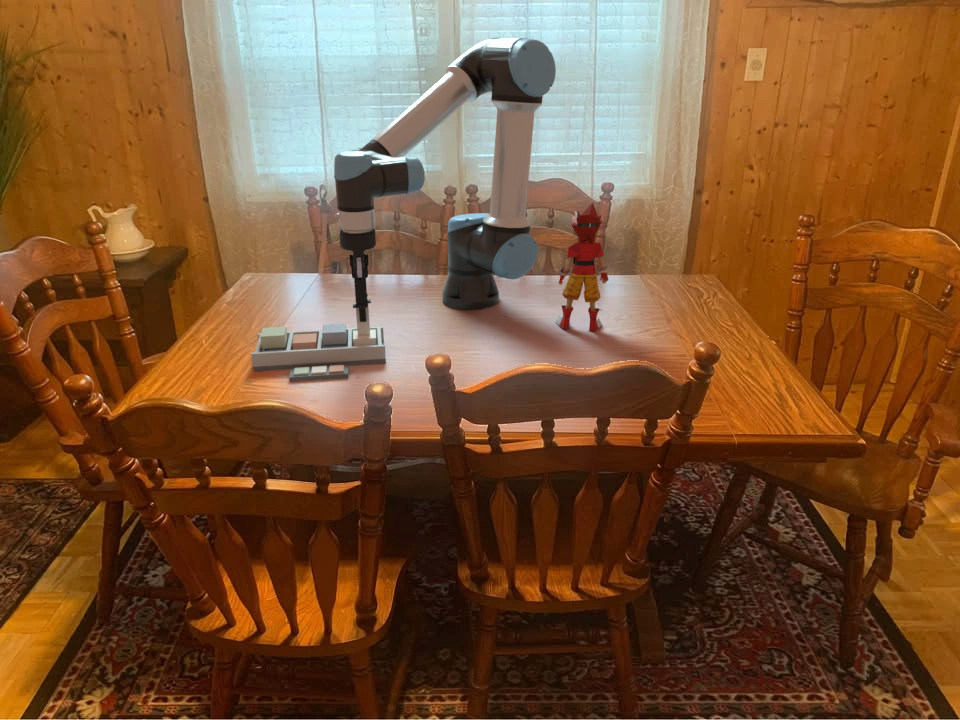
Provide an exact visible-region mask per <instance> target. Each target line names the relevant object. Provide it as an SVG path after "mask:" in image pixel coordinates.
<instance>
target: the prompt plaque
mask: <svg viewBox="0 0 960 720" xmlns="http://www.w3.org/2000/svg"><path fill="white" fill-rule="evenodd" d="M349 370H350V369H349V366H348V365H333V366H317V367H300V368H291V369H290V373H289V377H288V378H289V382H292V383H293V382H307V381H321V380H322V381H323V380H334V379H338V380H339V379H349Z"/></svg>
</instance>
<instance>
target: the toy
mask: <svg viewBox="0 0 960 720" xmlns="http://www.w3.org/2000/svg"><path fill="white" fill-rule="evenodd" d="M573 211H574V214H575V215H572V218H571V222H572V224H571V227H572V228H573V230H574V232H575V234H576V235H577V242H574V243H573V244H571V245H570V246H568V249H567V255H566V257H567V258H566V260H565V264H564V265H563V266H562V267H561V269H560V271H559V273H560V276H559V280H558V285H560V286H562V285H563V281H564V279H565V277H566V276H567V275H568V274H569V273H570V275H569V276H568V279H567V281H566V284H565V287H564V288H563V291H562V294H561V295H562V296H563V297H564V299H566V303H565V304H566V305H561V310H562V314H559V315H558V316H557V318H556V319H555V320H554V322H555V323H556V324H557V325H558V326H559V327H560V328H561V329H563V330H567V329H568V330H569V329H570V323H571V315H572V313H573V312H574V307H573V305H572V304H573V301H578V300H579V298H580V296H581V293H582V289H583V286H584V290H583V297H584V302H585V303H589V307H588V310H587V311H588V315H589V326H588V327H589V328H588V331H589V332H594V333H596V332H597V331H598V330H599V328H600V327H601V326H602V325H603V323H602V322H601V320H600V318H599V317H598V314H599V312H600V308H599V307H598V308H597V307H596V302H598V301H599V300H600V299H601V293H600V289H599V284H598V283H599V282H598V277H597V272H596V264H595V260H597V263H598V265H599V266H598V267H597V270H598V272H599V273H600V277H599V281H601V284H606V283H607V282H608V281H609V276H608V271H609V267H610V266H609V265H605V261H604V259H603V257H604V256H605V253H604V250H603V248H602V247H603V246H602V245H601V243H600V242H597V241H596V235H597V233H598V231H599V229H600V227H601V224H602V222H603V220H601V219H602V214H600V215H598V213H597V210H596V208H595V205H594V202H591V203H590V205H589V206H588V207H587V208H586V209H585V210H584V211H583V213H582V214H580V212H579V210H577V211H576V210H573ZM572 261H573V265H574V266H573V268H572V271H571V270H570V268H571V265H572Z"/></svg>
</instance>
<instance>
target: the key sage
mask: <svg viewBox="0 0 960 720" xmlns="http://www.w3.org/2000/svg"><path fill="white" fill-rule="evenodd" d="M287 332H288V329H287V326H275V327H272V326H271V327H262V330H261V332H260V333H261V336H260V338H261V346H262V349H264V348H281V347H286V343H287V339H288V338H287Z"/></svg>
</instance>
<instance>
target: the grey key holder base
mask: <svg viewBox="0 0 960 720" xmlns="http://www.w3.org/2000/svg"><path fill="white" fill-rule="evenodd" d="M375 329H376V345H371V346H354V345H353V331H357V327H346V333H347V342H346V344H333V345H323V338H322V329H313V330H312V329H311V330H309V329H308V330H294V331H293V330H292V331H290V330H289V331H287V338H288V339H287V343H286V347H281V348H264V349H262V346H261V338H260V336H261V333H262V332H259V333H257V340H258V341H257V345H256V348H255V351H254V352H253V351H251V353H250V354H251V355H250V356H251V361H252V369H253V372H267V371H268V372H269V371H283V370H284V371H285V370H286V371H287V370H291V368H300V367H317V366H333V365H348V367H350V366H361V365H362V366H363V365H365V366H366V365H380V364H386V363H387V362H386V344H385V341H384V339H385V338H384V336H385V335H384V326H383V325H382V326H370V330H375ZM313 333H317V339H318V346H317V349H303V350H293V345H292V342H293V337H294V335H295V334H313Z"/></svg>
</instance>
